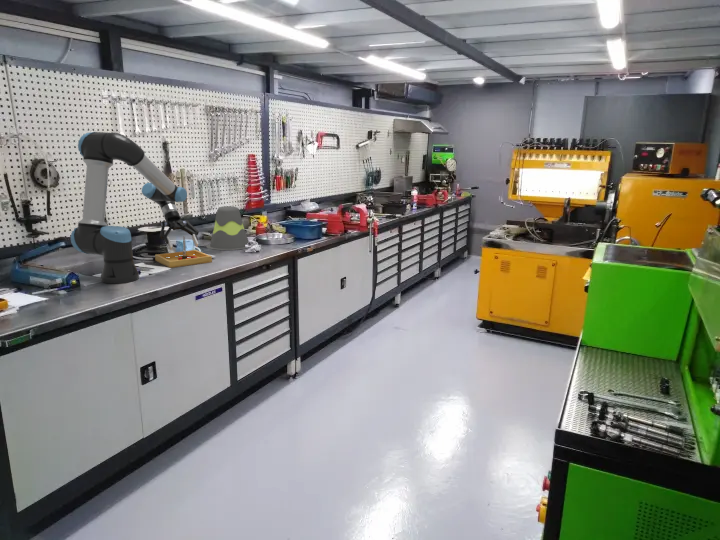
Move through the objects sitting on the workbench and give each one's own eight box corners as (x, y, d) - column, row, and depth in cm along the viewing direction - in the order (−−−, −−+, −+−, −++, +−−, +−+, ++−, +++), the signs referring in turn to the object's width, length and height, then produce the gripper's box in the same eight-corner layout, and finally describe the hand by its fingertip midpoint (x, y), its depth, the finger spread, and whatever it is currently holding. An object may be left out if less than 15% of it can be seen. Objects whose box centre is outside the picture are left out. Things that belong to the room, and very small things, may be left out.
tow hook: (185, 257, 256) (176, 260, 247) (185, 233, 254) (175, 235, 245) (200, 258, 255) (191, 261, 246) (199, 234, 252) (190, 236, 243)
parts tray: (169, 268, 235) (169, 261, 234) (155, 260, 249) (154, 254, 248) (212, 262, 249) (211, 256, 248) (196, 255, 264) (195, 249, 263)
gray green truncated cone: (196, 248, 283) (194, 207, 278) (222, 240, 309) (221, 203, 304) (237, 252, 276) (236, 210, 270) (261, 243, 302) (260, 205, 296)
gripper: (192, 217, 263) (205, 248, 256) (145, 220, 247) (158, 253, 240) (195, 208, 258) (209, 240, 251) (148, 211, 242) (161, 245, 235)
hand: (184, 246), depth 246 cm, fingers open, 13 cm apart
